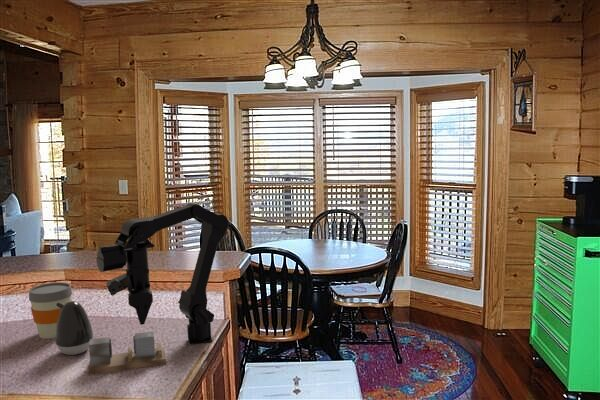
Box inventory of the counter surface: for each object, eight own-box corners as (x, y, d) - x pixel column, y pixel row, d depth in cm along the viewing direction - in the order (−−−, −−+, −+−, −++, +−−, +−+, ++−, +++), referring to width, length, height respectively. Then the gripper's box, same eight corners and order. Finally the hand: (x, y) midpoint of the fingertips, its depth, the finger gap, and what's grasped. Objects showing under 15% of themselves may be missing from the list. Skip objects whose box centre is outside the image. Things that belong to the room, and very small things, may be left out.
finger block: (154, 351, 153) (153, 331, 152) (155, 357, 149) (153, 336, 148) (134, 354, 152) (133, 333, 151) (134, 360, 148) (133, 339, 147)
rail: (164, 352, 156) (162, 327, 155) (166, 363, 148) (164, 337, 147) (90, 362, 150) (88, 337, 149) (88, 375, 143) (86, 348, 142)
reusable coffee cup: (83, 330, 175) (79, 285, 173) (47, 343, 164) (43, 296, 162) (60, 323, 182) (56, 280, 180) (24, 336, 171) (19, 290, 169)
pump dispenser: (73, 342, 165) (69, 294, 163) (101, 346, 161) (97, 297, 159) (48, 356, 155) (43, 305, 153) (77, 360, 152) (72, 308, 150)
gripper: (107, 260, 156) (111, 312, 158) (106, 277, 139) (111, 334, 141) (147, 256, 160) (150, 307, 162) (151, 272, 142) (155, 328, 144)
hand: (141, 318), depth 152 cm, fingers open, 9 cm apart
